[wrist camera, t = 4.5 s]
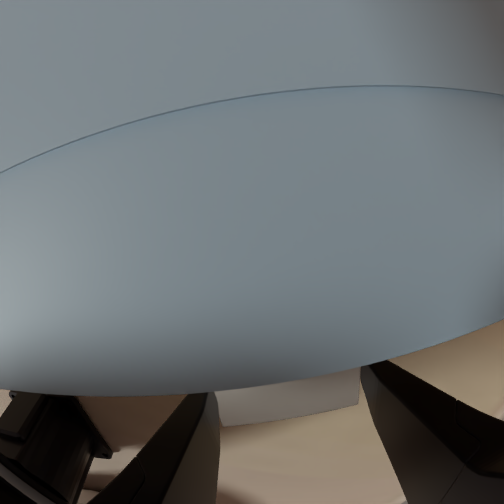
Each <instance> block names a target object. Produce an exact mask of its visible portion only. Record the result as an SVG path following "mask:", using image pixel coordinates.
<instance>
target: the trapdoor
mask: <svg viewBox="0 0 504 504" xmlns="http://www.w3.org/2000/svg"><path fill="white" fill-rule="evenodd" d="M503 319H504V0H0V389H6V390H14V391H22V392H32V393H43V394H56V395H73V396H110V397H122V396H160V395H178V394H193V393H204V392H215V391H225V390H233V389H242V388H249V387H257V386H264V385H270V384H277V383H283V382H289V381H294V380H300V379H305V378H310V377H316V376H321V375H325V374H330V373H335V372H339V371H344V370H348V369H352V368H357V367H361V366H365V365H369V364H373V363H376V362H380V361H384V360H388V359H391V358H395V357H398V356H402V355H405V354H408V353H412V352H415V351H418V350H421V349H425V348H428V347H431V346H434V345H437V344H440V343H443V342H446V341H449V340H451V339H454V338H457V337H460V336H462V335H465V334H468V333H470V332H473V331H476V330H478V329H481V328H483V327H486V326H488V325H491V324H493V323H496V322H498V321H500V320H503Z"/></svg>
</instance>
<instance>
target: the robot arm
mask: <svg viewBox="0 0 504 504" xmlns="http://www.w3.org/2000/svg"><path fill="white" fill-rule="evenodd" d="M360 378H361V383H362V386H363V390H364V393H365V396H366V399H367V403H368V406H369V409H370V413H371V416H372V419H373V422H374V425H375V427H376V429H377V432H378V434H379V436H380V438H381V441H382V443H383V445H384V448H385V450H386V452H387V454H388V457H389V459H390V461H391V464H392V466H393V468H394V471H395V473H396V475H397V478H398V480H399V483H400V485H401V487H402V490H403V492H404V495H405V497H406V499H407V502H408V504H504V421H502V420H500V419H497V418H495V417H492V416H490V415H487V414H485V413H483V412H481V411H479V410H477V409H475V408H473V407H471V406H469V405H467V404H465V403H463V402H461V401H459V400H457V401H456V398H454V397H452V396H450V395H448V394H447V393H445V392H443V391H441V390H439V389H438V388H436V387H434V386H432V385H431V384H429V383H427V382H425V381H423V380H422V379H420V378H418V377H416V376H415V375H413V374H411V373H409V372H408V371H406V370H404V369H402V368H401V367H399V366H397V365H395V364H394V363H392V362H390V361H388V360H384V361H380V362H376V363H373V364H369V365H365V366H361V371H360ZM9 396H10V397H11V399H12V401H11V403H10V404H9V405H8V407H7V408H6V410H5V411H4V413H3V414H2V416H1V417H0V504H77V502H78V500H79V497H80V494H81V491H82V488H83V485H84V483H85V480H86V477H87V474H88V472H89V469H90V466H91V463H92V461H93V458H94V457H95V458H104V459H111V458H112V455H113V452H112V451H111V449H110V448H109V447H108V445H107V444H106V443H105V441H104V440H103V439H102V437H101V436H100V434H99V433H98V431H97V430H96V429H95V427H94V426H93V424H92V423H91V421H90V420H89V418H88V417H87V415H86V414H85V412H84V411H83V409H82V407H81V406H80V404H79V403H78V401H77V399H76V398H75V397H74V396H73V395H56V394H43V393H32V392H22V391H14V390H11V391H10V392H9ZM219 458H220V431H219V407H218V401H217V398H216V395H215V392H204V393H193V394H188V395H187V396H186V397H185V398H184V400H183V401H182V402H181V403H180V404H179V406H178V407H177V408H176V409H175V410H174V412H173V413H172V414H171V415H170V416H169V418H168V419H167V420H166V421H165V422H164V424H163V425H162V426H161V427H160V428H159V429H158V431H157V432H156V433H155V434H154V435H153V437H152V438H151V439H150V440H149V441H148V442H147V444H146V445H145V446H144V447H143V448H142V449H141V451H140V452H139V453H138V454H137V455H136V457H134V458H133V460H132V461H131V462H130V463H129V464H128V465H127V466H126V467H125V468H124V470H123V471H122V472H121V473H120V474H119V475H118V476H117V477H116V478H115V479H114V480H113V481H112V482H110V483H109V484H108V485H107V486H106V487H105V488H104V489H103V490H102V491H100V492H99V493H98V494H97V495H96V496H95V497H93V498H92V499H91V500H90V501H89V502H88V503H86V504H215V503H216V492H217V480H218V469H219Z"/></svg>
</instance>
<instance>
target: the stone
mask: <svg viewBox="0 0 504 504" xmlns="http://www.w3.org/2000/svg"><path fill="white" fill-rule="evenodd" d="M359 385H360V367H357V368H352V369H348V370H344V371H339V372H335V373H330V374H325V375H321V376H316V377H310V378H305V379H300V380H294V381H289V382H283V383H277V384H270V385H264V386H257V387H249V388H242V389H233V390H225V391H215V395H216V398H217V401H218V407H219V417H220V420H221V423H222V426H223V427H227V426H237V425H247V424H255V423H263V422H270V421H277V420H284V419H290V418H296V417H302V416H307V415H312V414H317V413H322V412H327V411H332V410H336V409H341V408H345V407H349V406H353V405H357V404H358V401H359Z"/></svg>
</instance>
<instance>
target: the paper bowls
mask: <svg viewBox="0 0 504 504" xmlns="http://www.w3.org/2000/svg"><path fill="white" fill-rule="evenodd" d="M98 493H99V492H97V491H92V490H84V489H82V491H81V494H80V497H79V500H78V502H77V504H86V503H88V502H89V501H90V500H91V499H92V498H93V497H95V496H96V495H97V494H98Z"/></svg>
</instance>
